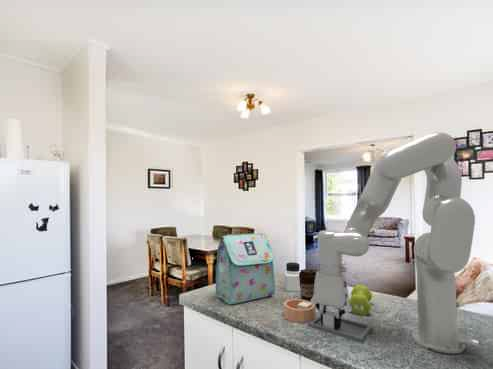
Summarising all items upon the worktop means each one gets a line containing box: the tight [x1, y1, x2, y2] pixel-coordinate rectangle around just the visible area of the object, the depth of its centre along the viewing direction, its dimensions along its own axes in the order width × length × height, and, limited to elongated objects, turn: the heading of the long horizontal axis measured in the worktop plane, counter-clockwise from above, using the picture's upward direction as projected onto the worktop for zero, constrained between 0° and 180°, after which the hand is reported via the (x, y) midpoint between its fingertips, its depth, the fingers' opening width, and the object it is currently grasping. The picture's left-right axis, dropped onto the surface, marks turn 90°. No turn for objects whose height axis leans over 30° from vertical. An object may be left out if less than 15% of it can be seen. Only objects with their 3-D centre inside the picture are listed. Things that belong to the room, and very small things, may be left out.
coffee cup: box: [299, 268, 318, 302], centre depth 114 cm, size 9×8×13 cm
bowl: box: [283, 298, 316, 324], centre depth 100 cm, size 10×10×4 cm
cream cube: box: [298, 302, 312, 310], centre depth 99 cm, size 4×4×4 cm
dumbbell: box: [348, 284, 373, 317], centre depth 108 cm, size 16×8×7 cm, turn 154°
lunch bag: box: [215, 233, 276, 306], centre depth 122 cm, size 23×16×27 cm
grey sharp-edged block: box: [323, 310, 335, 329], centre depth 90 cm, size 4×4×4 cm
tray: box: [308, 313, 373, 343], centre depth 91 cm, size 16×11×2 cm, turn 52°
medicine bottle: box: [283, 261, 300, 292], centre depth 132 cm, size 7×7×12 cm
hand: (330, 327), depth 90 cm, fingers closed on grey sharp-edged block, 3 cm apart
